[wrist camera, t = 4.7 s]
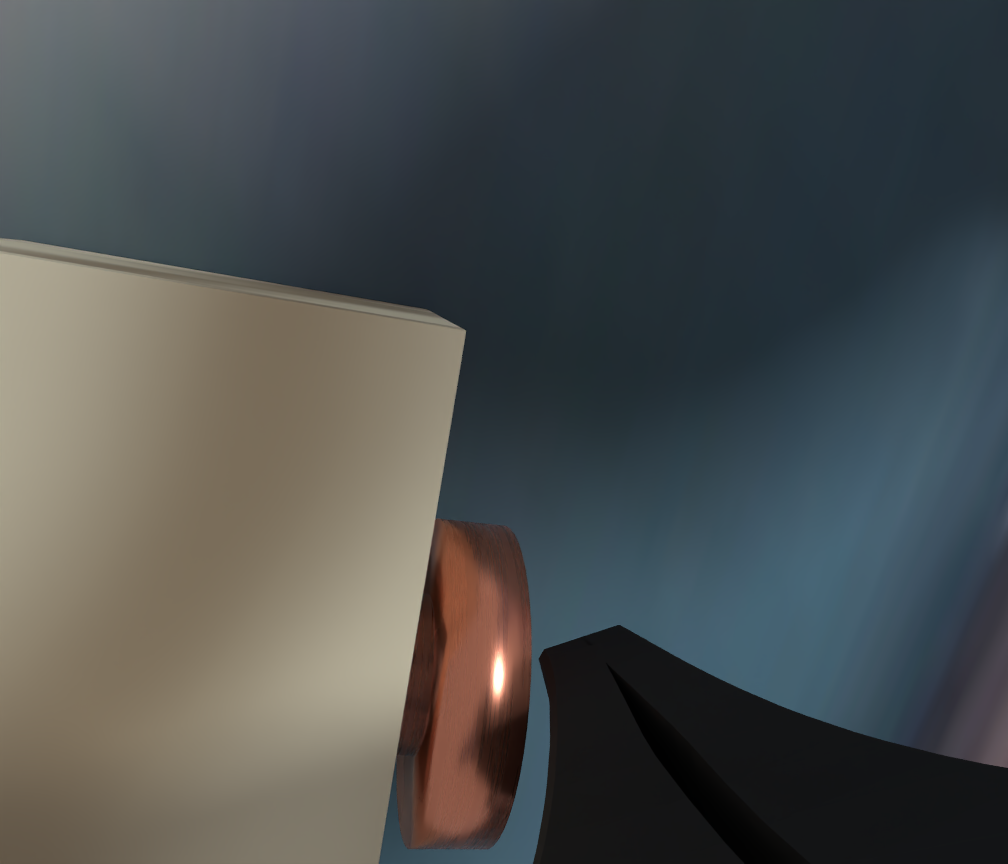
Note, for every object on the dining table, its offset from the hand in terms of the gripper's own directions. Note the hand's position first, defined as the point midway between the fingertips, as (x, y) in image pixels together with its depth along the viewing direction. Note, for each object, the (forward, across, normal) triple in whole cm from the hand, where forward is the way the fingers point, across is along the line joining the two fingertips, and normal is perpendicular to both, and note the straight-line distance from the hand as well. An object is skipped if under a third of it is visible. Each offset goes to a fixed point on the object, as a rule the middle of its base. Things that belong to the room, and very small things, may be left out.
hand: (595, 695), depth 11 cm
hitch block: (+3, +6, -2) cm, 7 cm away
